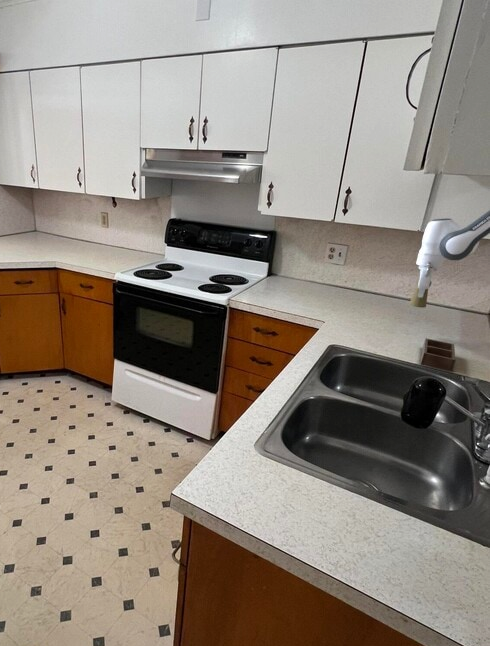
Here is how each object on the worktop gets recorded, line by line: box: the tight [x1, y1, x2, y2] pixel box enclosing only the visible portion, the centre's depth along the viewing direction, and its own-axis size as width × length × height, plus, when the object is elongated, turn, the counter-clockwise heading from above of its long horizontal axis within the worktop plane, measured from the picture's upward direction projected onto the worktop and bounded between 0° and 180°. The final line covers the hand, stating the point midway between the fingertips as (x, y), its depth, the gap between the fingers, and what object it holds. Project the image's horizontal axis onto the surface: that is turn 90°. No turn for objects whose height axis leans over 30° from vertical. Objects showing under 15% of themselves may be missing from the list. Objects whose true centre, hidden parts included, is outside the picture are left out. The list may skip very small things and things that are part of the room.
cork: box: [408, 277, 432, 309], centre depth 170 cm, size 6×6×11 cm
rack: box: [420, 338, 456, 373], centre depth 149 cm, size 9×17×5 cm, turn 148°
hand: (420, 295), depth 170 cm, fingers closed on cork, 4 cm apart
